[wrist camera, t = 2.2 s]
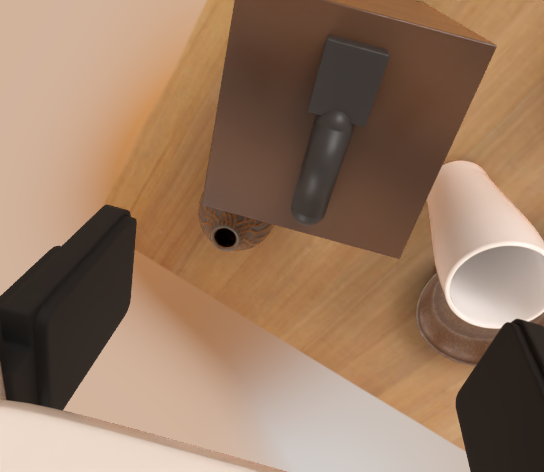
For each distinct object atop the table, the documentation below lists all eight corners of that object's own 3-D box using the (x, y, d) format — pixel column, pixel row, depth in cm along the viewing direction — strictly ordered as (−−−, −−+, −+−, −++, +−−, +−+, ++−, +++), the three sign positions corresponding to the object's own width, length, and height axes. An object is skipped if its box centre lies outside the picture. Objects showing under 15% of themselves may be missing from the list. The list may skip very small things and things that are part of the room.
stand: (295, -32, 34) (238, -24, 17) (425, 3, 34) (497, 45, 17) (266, 100, 40) (201, 205, 23) (379, 130, 39) (399, 259, 22)
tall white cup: (399, 190, 42) (419, 291, 29) (457, 134, 39) (509, 219, 26) (453, 233, 43) (496, 347, 30) (514, 181, 40) (590, 285, 27)
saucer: (512, 368, 50) (520, 387, 48) (387, 320, 50) (389, 338, 47) (609, 266, 43) (624, 283, 40) (463, 208, 42) (469, 222, 40)
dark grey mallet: (328, 33, 18) (325, 39, 16) (388, 49, 18) (391, 56, 16) (281, 208, 22) (276, 224, 21) (329, 221, 22) (328, 238, 21)
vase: (296, 188, 43) (285, 235, 36) (254, 235, 47) (235, 288, 39) (237, 142, 42) (212, 182, 34) (198, 195, 45) (167, 241, 38)
